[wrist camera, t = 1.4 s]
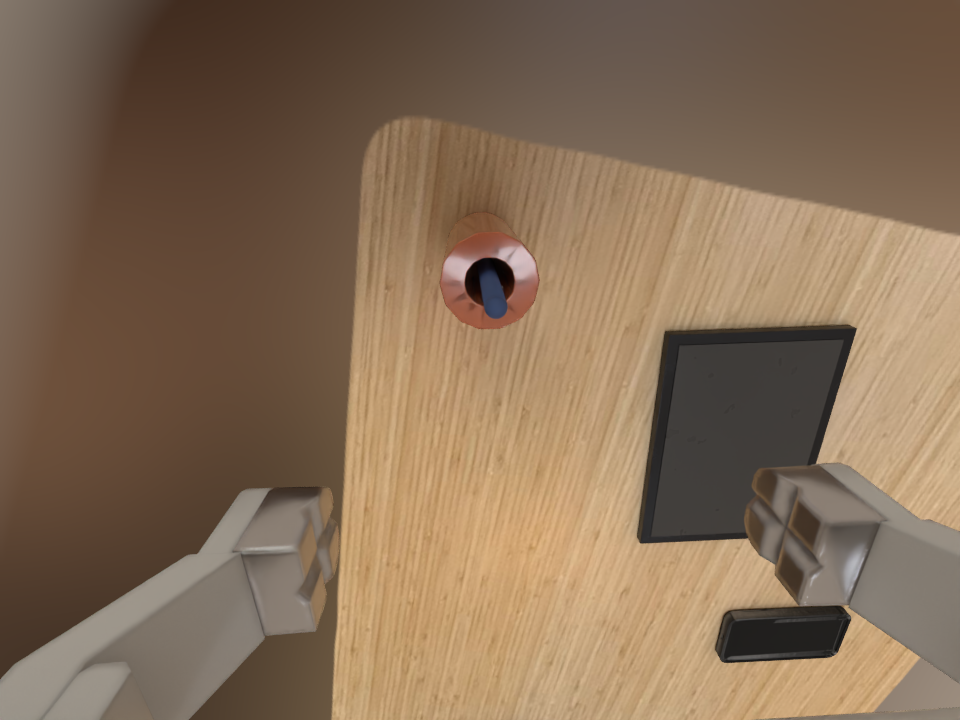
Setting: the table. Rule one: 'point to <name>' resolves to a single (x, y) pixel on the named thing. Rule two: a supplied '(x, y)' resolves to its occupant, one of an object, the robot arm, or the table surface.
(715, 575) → the table surface
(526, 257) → the holder
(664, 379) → the tablet
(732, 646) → the phone
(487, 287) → the stylus
